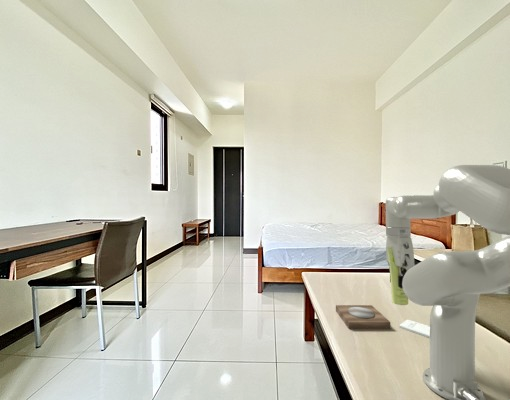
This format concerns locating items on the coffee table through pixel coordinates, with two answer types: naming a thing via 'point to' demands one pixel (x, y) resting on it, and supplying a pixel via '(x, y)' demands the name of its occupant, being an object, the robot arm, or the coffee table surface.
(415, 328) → the external hard drive
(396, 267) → the tube
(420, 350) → the coffee table surface
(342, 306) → the walnut base
